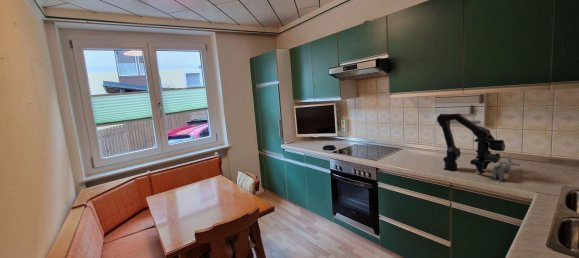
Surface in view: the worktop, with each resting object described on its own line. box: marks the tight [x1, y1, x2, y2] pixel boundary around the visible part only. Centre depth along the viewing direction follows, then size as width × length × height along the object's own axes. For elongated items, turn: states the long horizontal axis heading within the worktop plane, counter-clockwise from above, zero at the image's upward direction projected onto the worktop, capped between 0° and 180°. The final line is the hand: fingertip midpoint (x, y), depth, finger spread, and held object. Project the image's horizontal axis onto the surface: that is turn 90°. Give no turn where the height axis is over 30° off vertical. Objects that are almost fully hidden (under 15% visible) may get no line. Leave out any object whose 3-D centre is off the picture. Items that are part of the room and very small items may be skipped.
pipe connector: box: [498, 155, 521, 172], centre depth 164 cm, size 10×10×10 cm
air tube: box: [475, 168, 510, 181], centre depth 157 cm, size 16×4×4 cm, turn 31°
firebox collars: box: [491, 163, 510, 183], centre depth 153 cm, size 4×11×8 cm, turn 121°
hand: (482, 172), depth 161 cm, fingers closed on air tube, 4 cm apart
